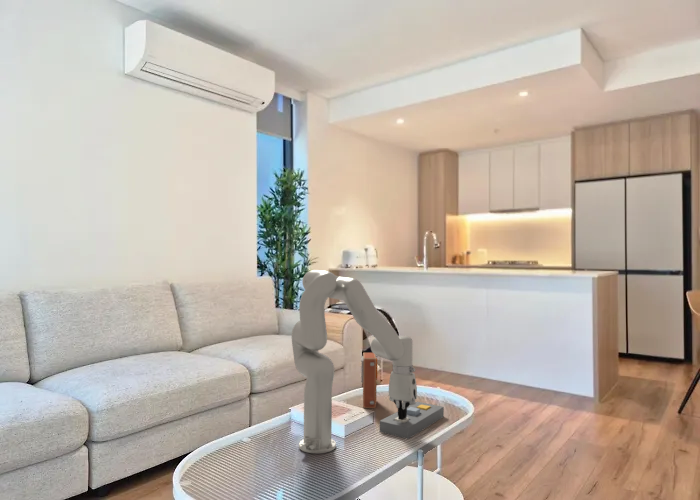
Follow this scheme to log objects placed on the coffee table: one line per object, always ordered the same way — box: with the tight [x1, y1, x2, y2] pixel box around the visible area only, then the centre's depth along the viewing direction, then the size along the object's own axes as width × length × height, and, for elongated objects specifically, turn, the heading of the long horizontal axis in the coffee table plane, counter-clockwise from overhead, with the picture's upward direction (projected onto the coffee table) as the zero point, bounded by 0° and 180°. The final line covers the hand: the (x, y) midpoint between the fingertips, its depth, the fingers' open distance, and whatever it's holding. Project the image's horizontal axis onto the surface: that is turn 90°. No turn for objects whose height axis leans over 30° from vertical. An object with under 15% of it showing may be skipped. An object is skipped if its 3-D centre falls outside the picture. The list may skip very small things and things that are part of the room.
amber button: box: [417, 404, 430, 410], centre depth 196 cm, size 4×4×3 cm
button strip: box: [379, 401, 445, 440], centre depth 188 cm, size 30×12×4 cm, turn 145°
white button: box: [394, 417, 409, 423], centre depth 181 cm, size 4×4×3 cm
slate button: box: [407, 407, 420, 416], centre depth 188 cm, size 4×4×3 cm
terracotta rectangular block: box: [360, 352, 378, 409], centre depth 213 cm, size 21×7×15 cm
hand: (402, 418), depth 181 cm, fingers closed
